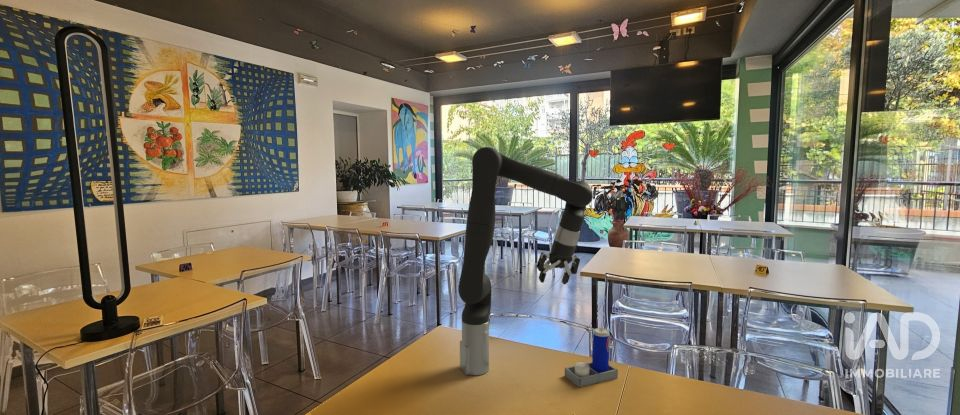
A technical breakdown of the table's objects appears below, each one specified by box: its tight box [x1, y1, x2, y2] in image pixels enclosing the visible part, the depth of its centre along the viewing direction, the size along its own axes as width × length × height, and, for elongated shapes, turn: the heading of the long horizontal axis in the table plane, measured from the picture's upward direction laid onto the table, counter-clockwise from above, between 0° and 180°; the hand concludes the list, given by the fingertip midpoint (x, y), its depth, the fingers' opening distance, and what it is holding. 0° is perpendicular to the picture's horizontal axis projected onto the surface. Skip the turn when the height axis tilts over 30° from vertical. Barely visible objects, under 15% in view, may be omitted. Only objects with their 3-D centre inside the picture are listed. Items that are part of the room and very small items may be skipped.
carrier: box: [564, 361, 619, 388], centre depth 135 cm, size 15×8×4 cm, turn 113°
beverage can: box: [591, 327, 611, 373], centre depth 136 cm, size 5×5×15 cm
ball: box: [574, 361, 590, 378], centre depth 134 cm, size 5×5×4 cm
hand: (552, 282), depth 143 cm, fingers open, 8 cm apart
